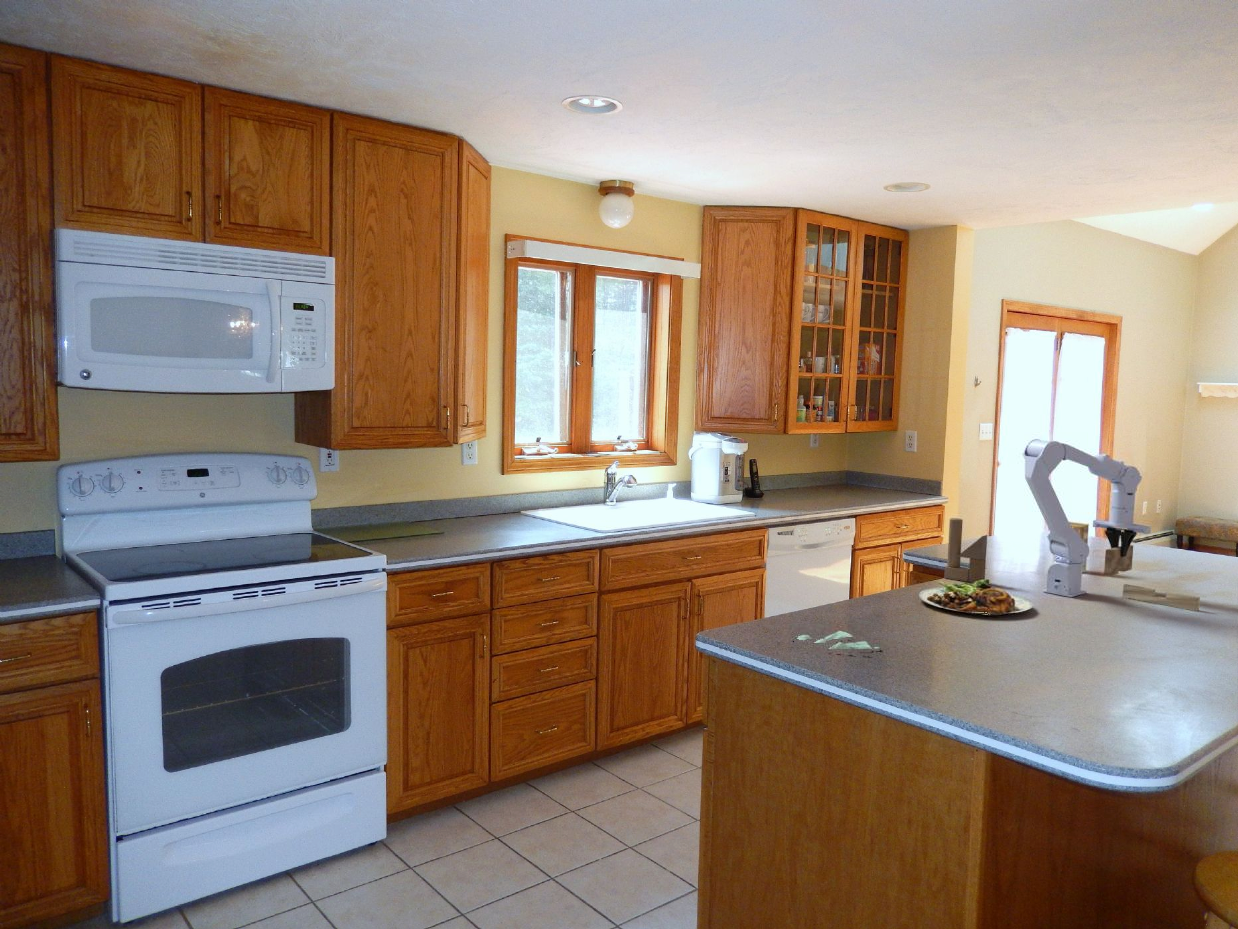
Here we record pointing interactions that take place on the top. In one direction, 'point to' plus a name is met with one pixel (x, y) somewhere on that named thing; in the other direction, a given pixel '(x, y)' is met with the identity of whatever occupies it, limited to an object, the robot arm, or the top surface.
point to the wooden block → (965, 555)
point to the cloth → (840, 645)
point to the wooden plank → (1117, 561)
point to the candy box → (1083, 532)
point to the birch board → (1170, 599)
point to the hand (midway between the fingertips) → (1119, 555)
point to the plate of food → (975, 598)
